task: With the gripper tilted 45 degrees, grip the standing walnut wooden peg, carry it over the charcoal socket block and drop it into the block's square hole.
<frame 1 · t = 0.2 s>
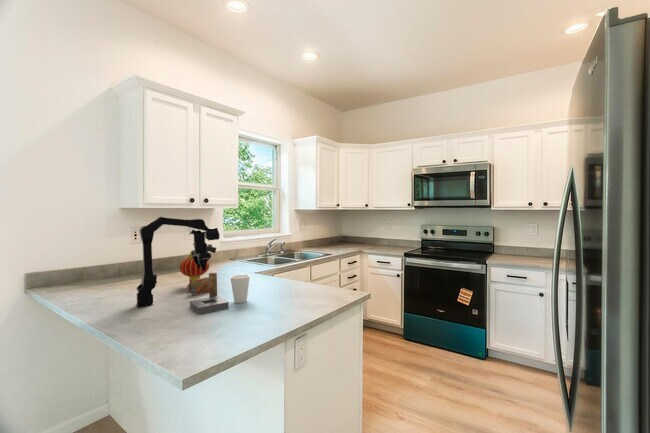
hand: (201, 269, 174), 14 cm above the countertop, tool pointing down, fingers open, 9 cm apart
foam cup: (240, 301, 162), on the countertop
peg: (213, 299, 166), on the countertop
tin: (200, 293, 179), on the countertop
socket block: (209, 307, 152), on the countertop
lantern: (194, 286, 195), on the countertop
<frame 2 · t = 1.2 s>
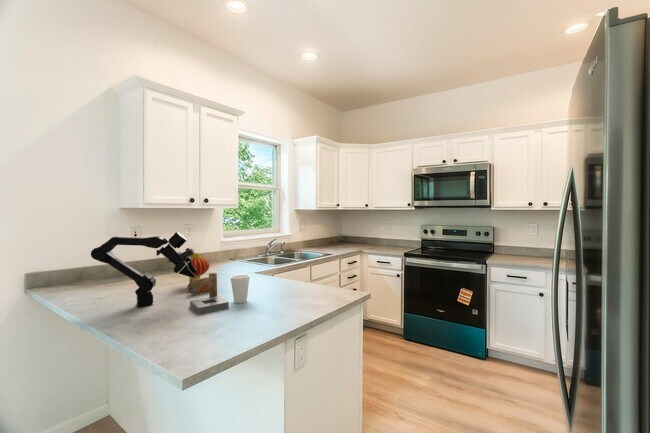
hand: (195, 275, 163), 14 cm above the countertop, tool tilted 45°, fingers open, 9 cm apart
nothing on the countertop moved.
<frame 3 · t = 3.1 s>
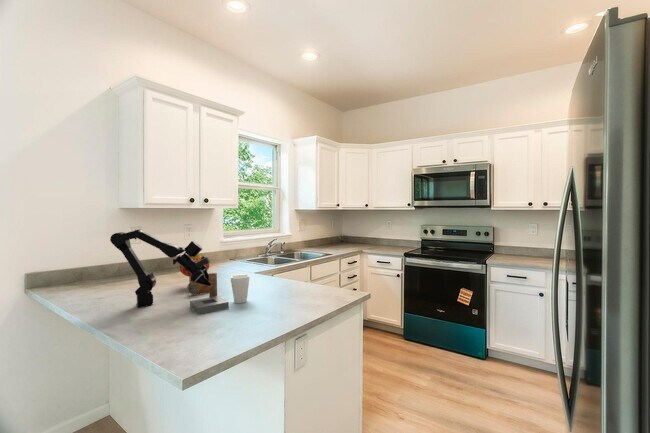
hand: (211, 283, 165), 9 cm above the countertop, tool tilted 45°, fingers open, 9 cm apart
nothing on the countertop moved.
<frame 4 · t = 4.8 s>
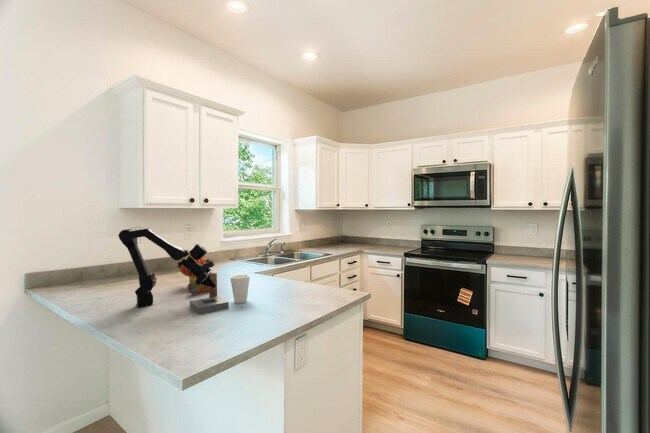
hand: (215, 286, 166), 7 cm above the countertop, tool tilted 45°, fingers closed on peg, 4 cm apart
peg: (213, 299, 166), on the countertop, touching gripper
everything else where it was.
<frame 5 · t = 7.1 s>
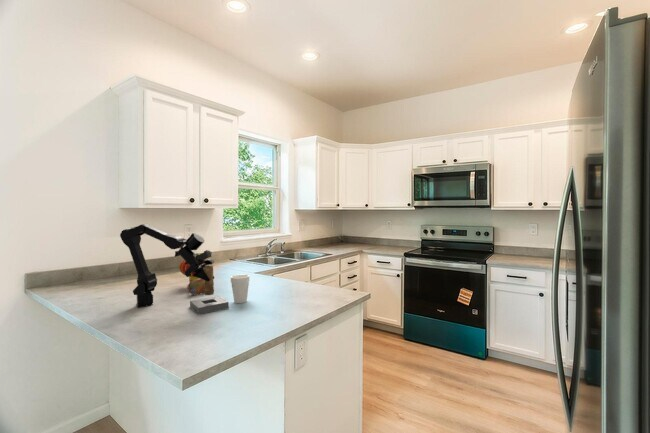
hand: (211, 279, 152), 14 cm above the countertop, tool tilted 45°, fingers closed on peg, 4 cm apart
peg: (209, 294, 153), point 6 cm above the countertop, touching gripper
everything else where it was.
when the fingers open (9 cm above the countertop, at t = 9.5 s): peg drops 2 cm, resting in socket block.
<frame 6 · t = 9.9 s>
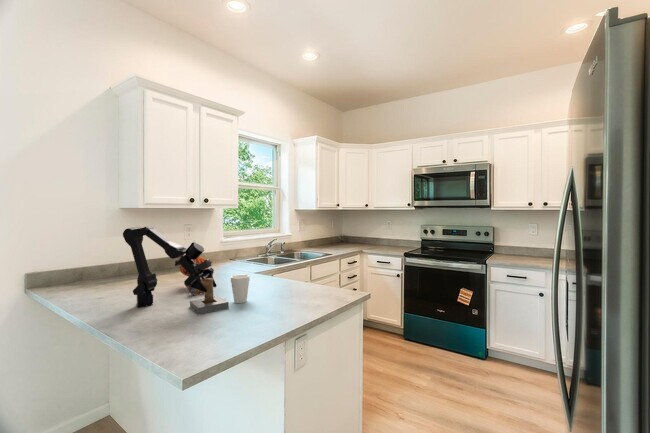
hand: (211, 289, 152), 9 cm above the countertop, tool tilted 45°, fingers open, 9 cm apart
peg: (209, 307, 152), resting in socket block
everything else where it was.
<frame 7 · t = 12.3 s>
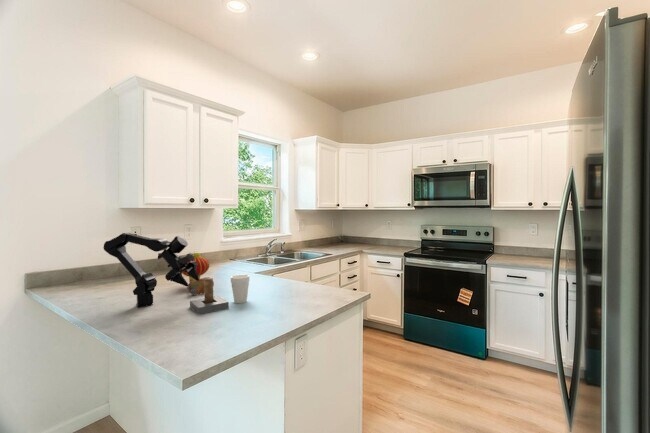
hand: (193, 283, 154), 12 cm above the countertop, tool tilted 45°, fingers open, 9 cm apart
nothing on the countertop moved.
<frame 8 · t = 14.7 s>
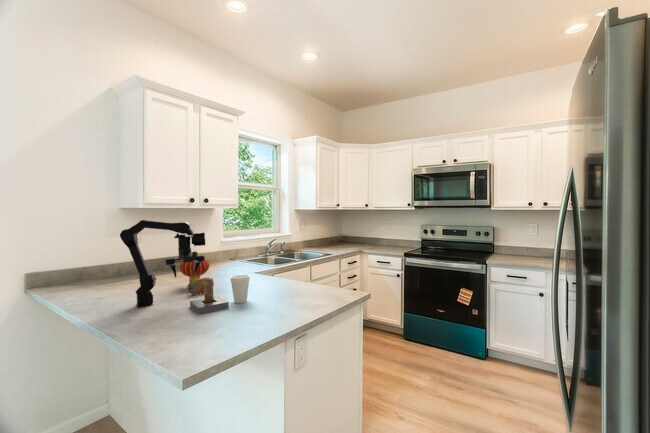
hand: (185, 276, 163), 13 cm above the countertop, tool pointing down, fingers open, 9 cm apart
nothing on the countertop moved.
at the end: peg 0.0 cm off-centre on the socket block, point 0.0 cm above the socket block's base; peg tilted 0°; the gripper is holding nothing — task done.
